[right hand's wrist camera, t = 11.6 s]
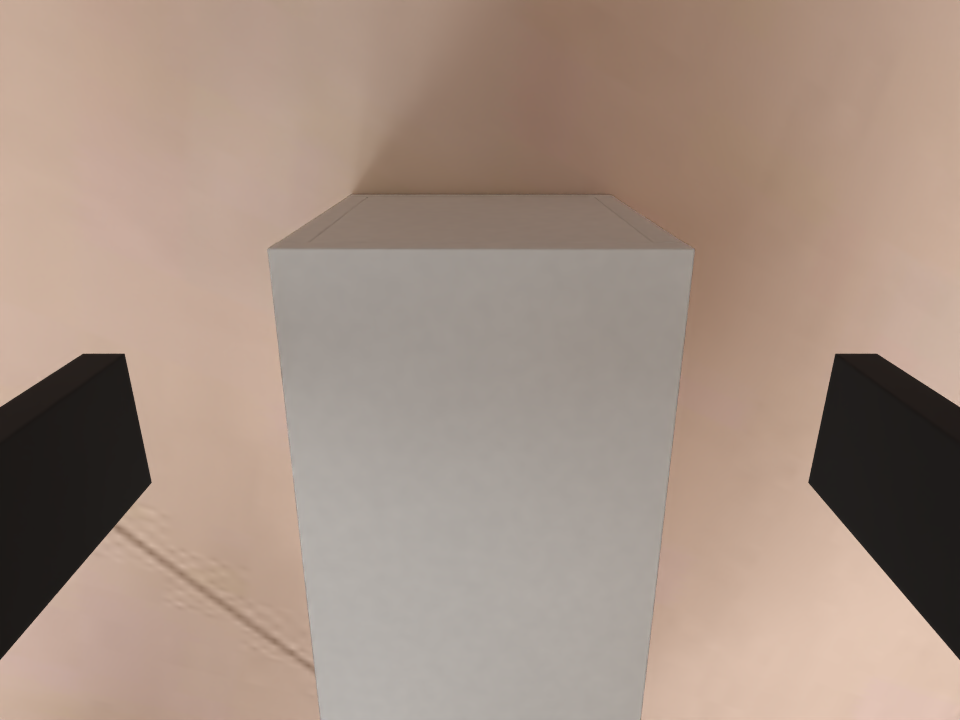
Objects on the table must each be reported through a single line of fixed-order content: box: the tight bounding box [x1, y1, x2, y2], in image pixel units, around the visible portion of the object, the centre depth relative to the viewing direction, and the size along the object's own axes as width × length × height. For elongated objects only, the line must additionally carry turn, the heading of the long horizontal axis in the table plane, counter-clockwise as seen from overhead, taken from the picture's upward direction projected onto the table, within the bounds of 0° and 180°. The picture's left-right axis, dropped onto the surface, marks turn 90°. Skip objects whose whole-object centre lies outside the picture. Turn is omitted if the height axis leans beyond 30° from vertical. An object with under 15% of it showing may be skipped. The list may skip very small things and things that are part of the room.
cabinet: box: [268, 194, 695, 720], centre depth 25 cm, size 21×10×11 cm, turn 0°
